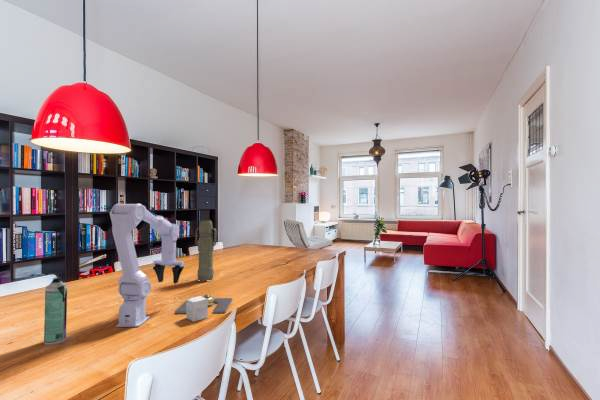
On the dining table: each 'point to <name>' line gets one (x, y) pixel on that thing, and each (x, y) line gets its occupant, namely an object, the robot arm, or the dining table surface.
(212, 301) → the carrier plate
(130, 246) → the robot arm
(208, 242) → the thermos
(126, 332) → the dining table surface
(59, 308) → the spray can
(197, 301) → the skincare box
